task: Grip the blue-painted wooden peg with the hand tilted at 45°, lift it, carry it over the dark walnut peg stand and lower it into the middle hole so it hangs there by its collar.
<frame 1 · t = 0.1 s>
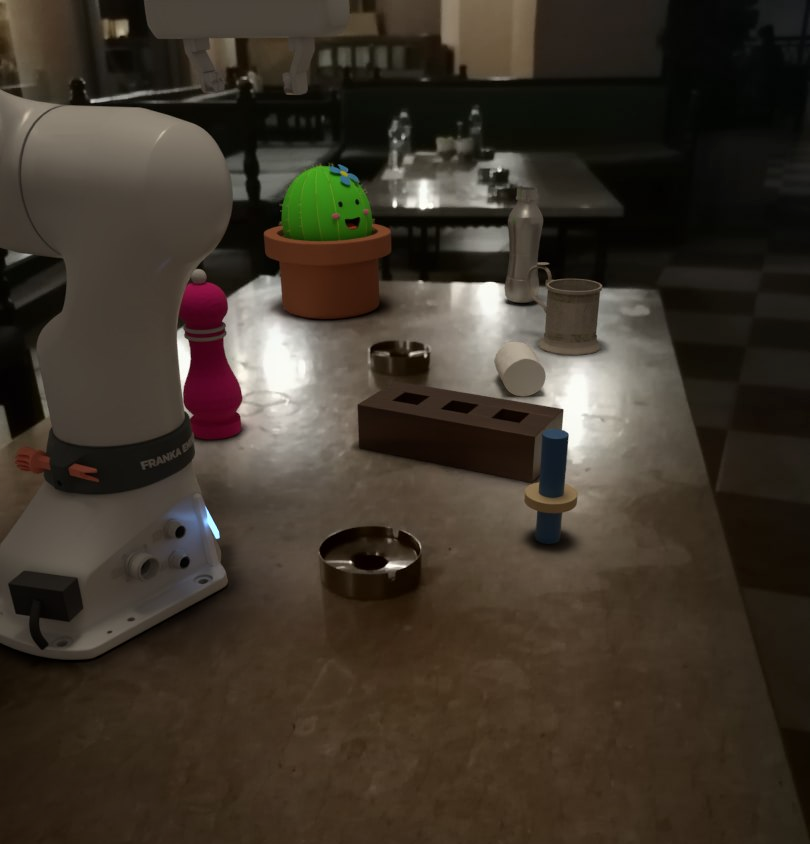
hand: (254, 93, 84), 39 cm above the table, tool pointing down, fingers open, 8 cm apart
peg: (547, 538, 89), on the table
potted cactus: (331, 308, 167), on the table
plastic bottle: (521, 303, 170), on the table
roll: (515, 383, 130), on the table
mug: (558, 344, 146), on the table
pepper mill: (216, 432, 115), on the table
stand: (458, 450, 108), on the table
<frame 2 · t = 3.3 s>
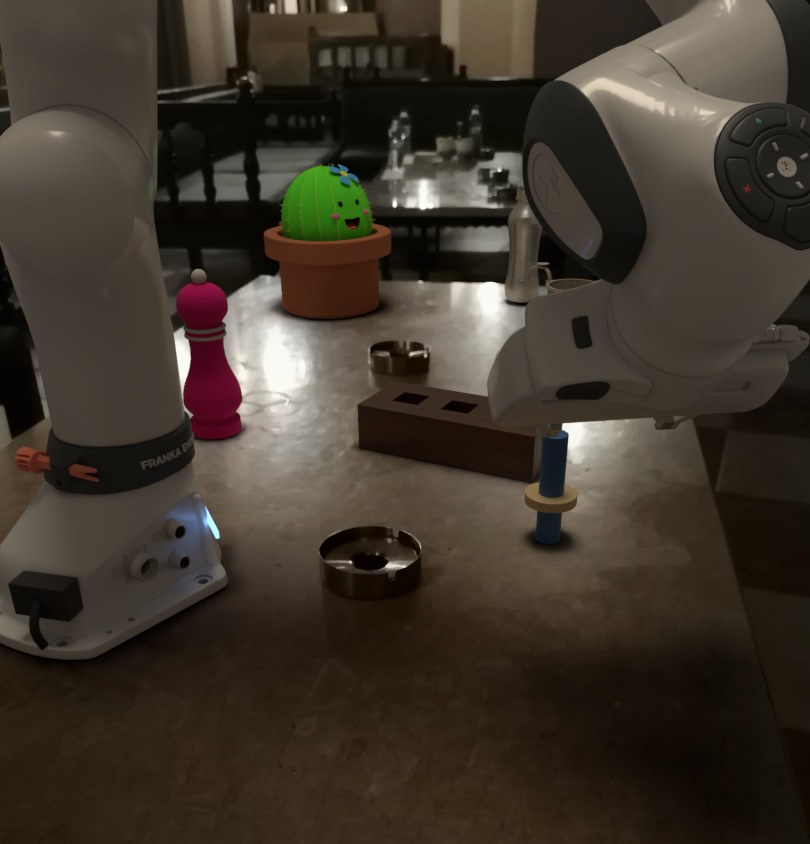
hand: (604, 424, 70), 17 cm above the table, tool tilted 45°, fingers open, 8 cm apart
nothing on the table moved.
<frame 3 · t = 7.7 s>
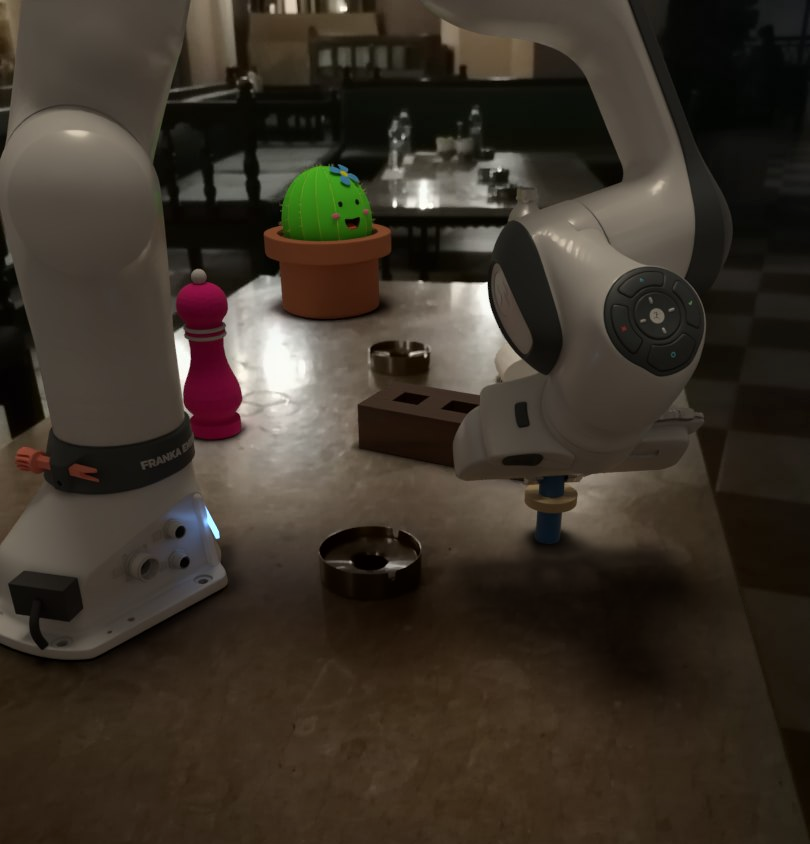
hand: (550, 476, 86), 6 cm above the table, tool tilted 45°, fingers closed on peg, 2 cm apart
peg: (547, 538, 89), on the table, touching gripper
everything else where it was.
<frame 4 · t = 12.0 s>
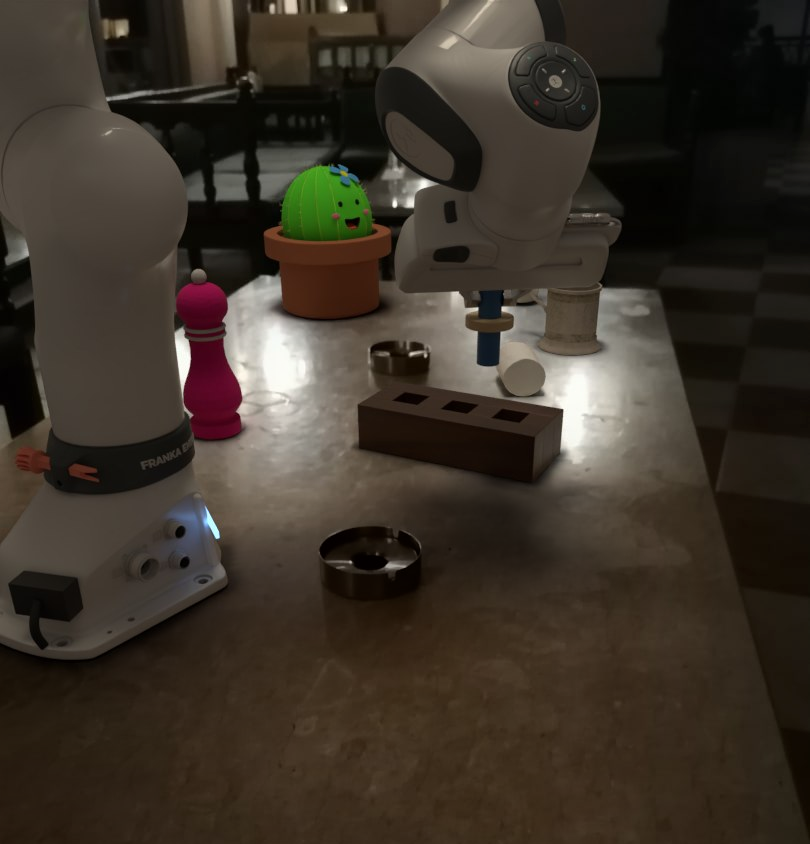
hand: (488, 301, 93), 19 cm above the table, tool tilted 45°, fingers closed on peg, 2 cm apart
peg: (487, 363, 96), point 13 cm above the table, touching gripper
everything else where it was.
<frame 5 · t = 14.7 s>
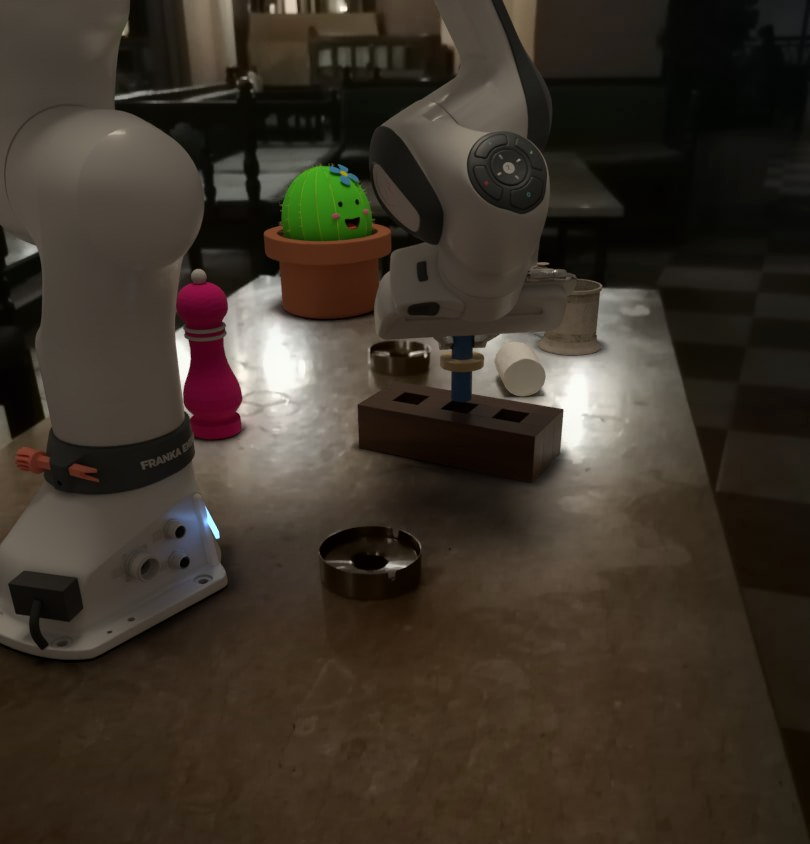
hand: (461, 343, 103), 13 cm above the table, tool tilted 45°, fingers closed on peg, 2 cm apart
peg: (461, 398, 105), point 6 cm above the table, touching gripper
everything else where it was.
when the fingers open (8 cm above the table, at t = 16.5 s): peg stays where it is, resting on stand.
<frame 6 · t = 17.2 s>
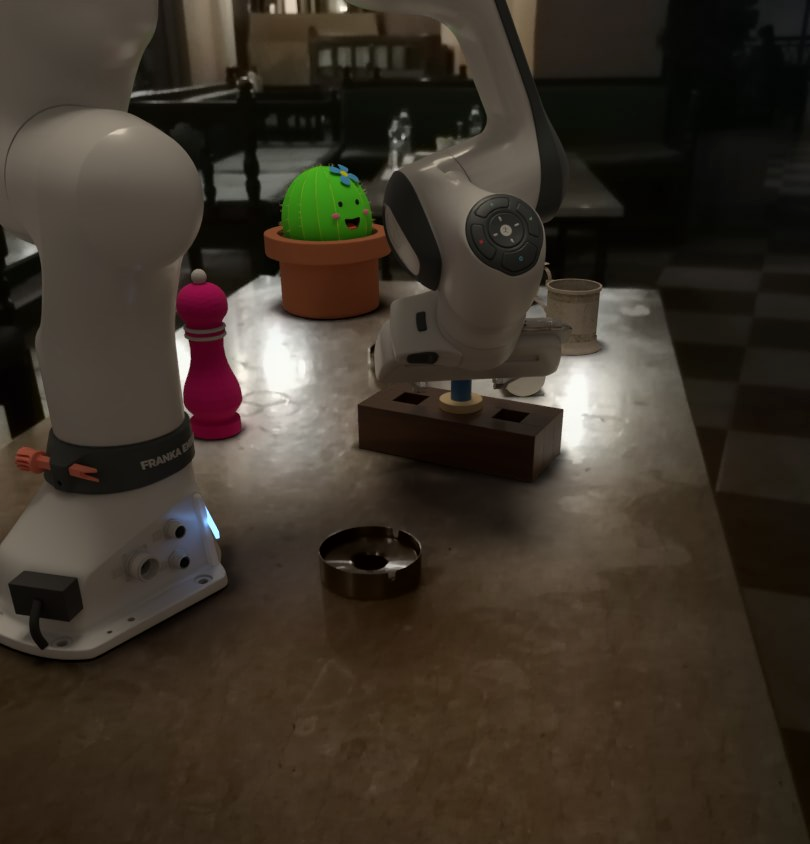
hand: (458, 385, 105), 8 cm above the table, tool tilted 45°, fingers open, 8 cm apart
peg: (460, 438, 108), point 1 cm above the table, touching stand
everything else where it was.
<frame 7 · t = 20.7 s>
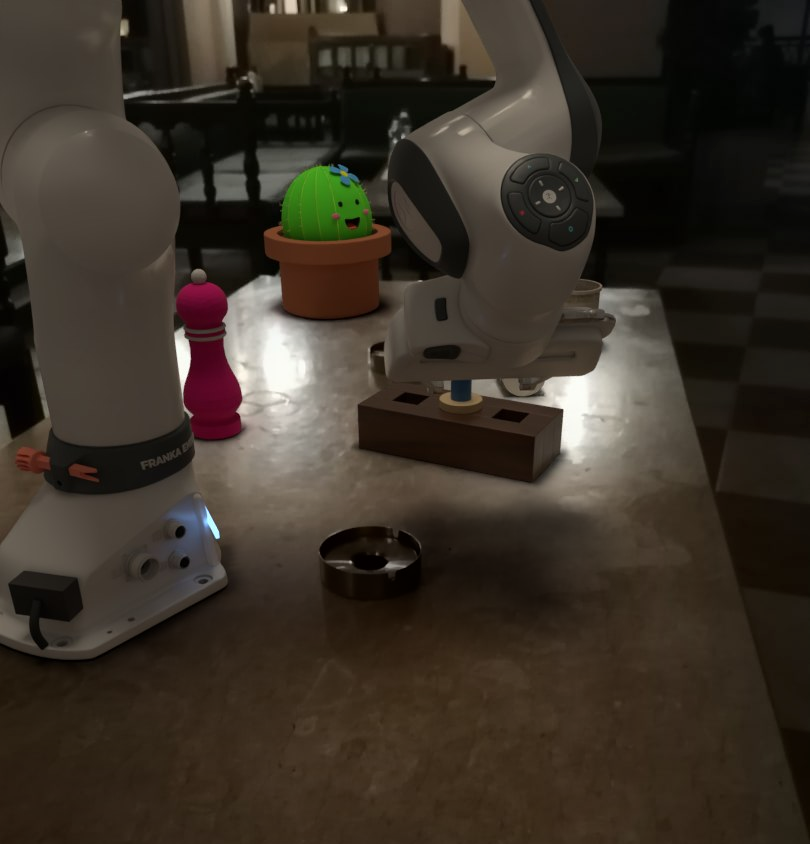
hand: (479, 385, 92), 12 cm above the table, tool tilted 45°, fingers open, 8 cm apart
nothing on the table moved.
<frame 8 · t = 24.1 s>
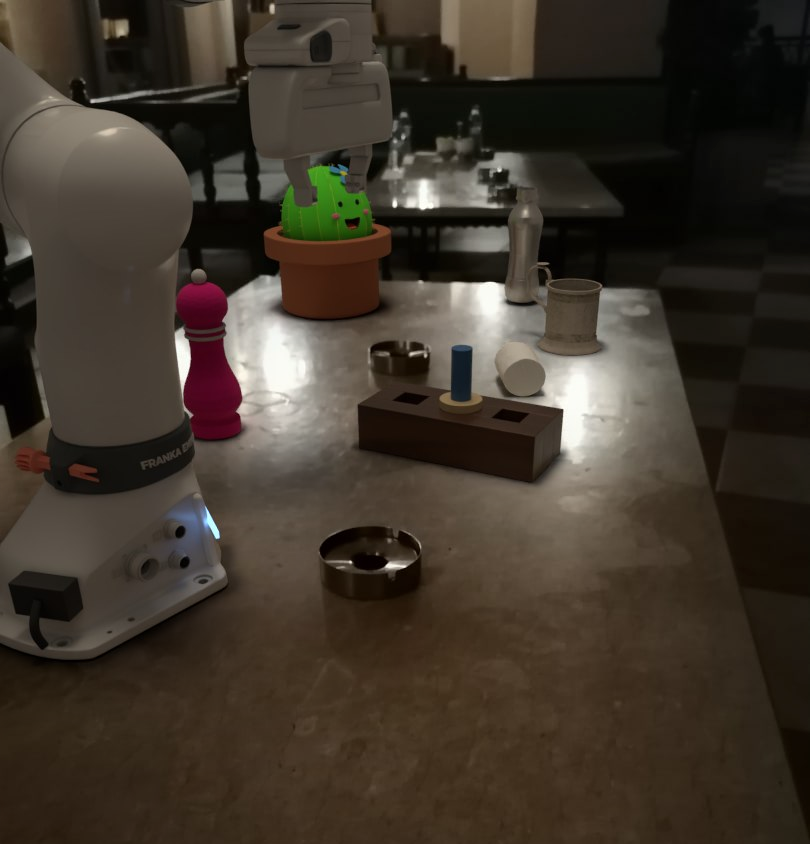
hand: (332, 199, 91), 29 cm above the table, tool pointing down, fingers open, 8 cm apart
nothing on the table moved.
at the end: peg 0.1 cm off-centre in the stand, point 1.5 cm above the stand's base; peg tilted 0°; the gripper is holding nothing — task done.
